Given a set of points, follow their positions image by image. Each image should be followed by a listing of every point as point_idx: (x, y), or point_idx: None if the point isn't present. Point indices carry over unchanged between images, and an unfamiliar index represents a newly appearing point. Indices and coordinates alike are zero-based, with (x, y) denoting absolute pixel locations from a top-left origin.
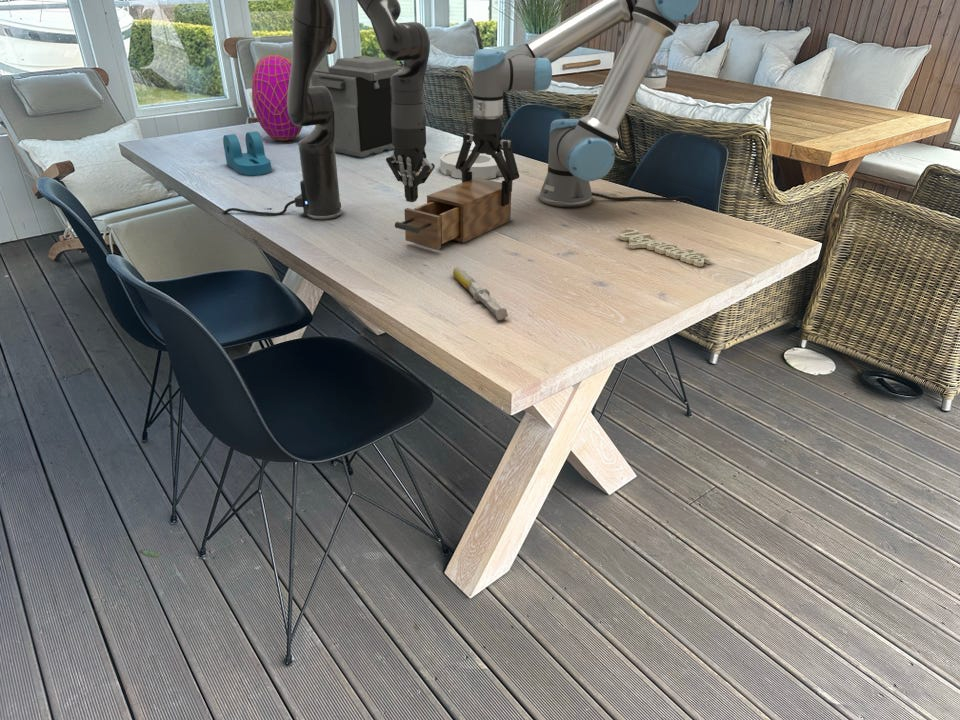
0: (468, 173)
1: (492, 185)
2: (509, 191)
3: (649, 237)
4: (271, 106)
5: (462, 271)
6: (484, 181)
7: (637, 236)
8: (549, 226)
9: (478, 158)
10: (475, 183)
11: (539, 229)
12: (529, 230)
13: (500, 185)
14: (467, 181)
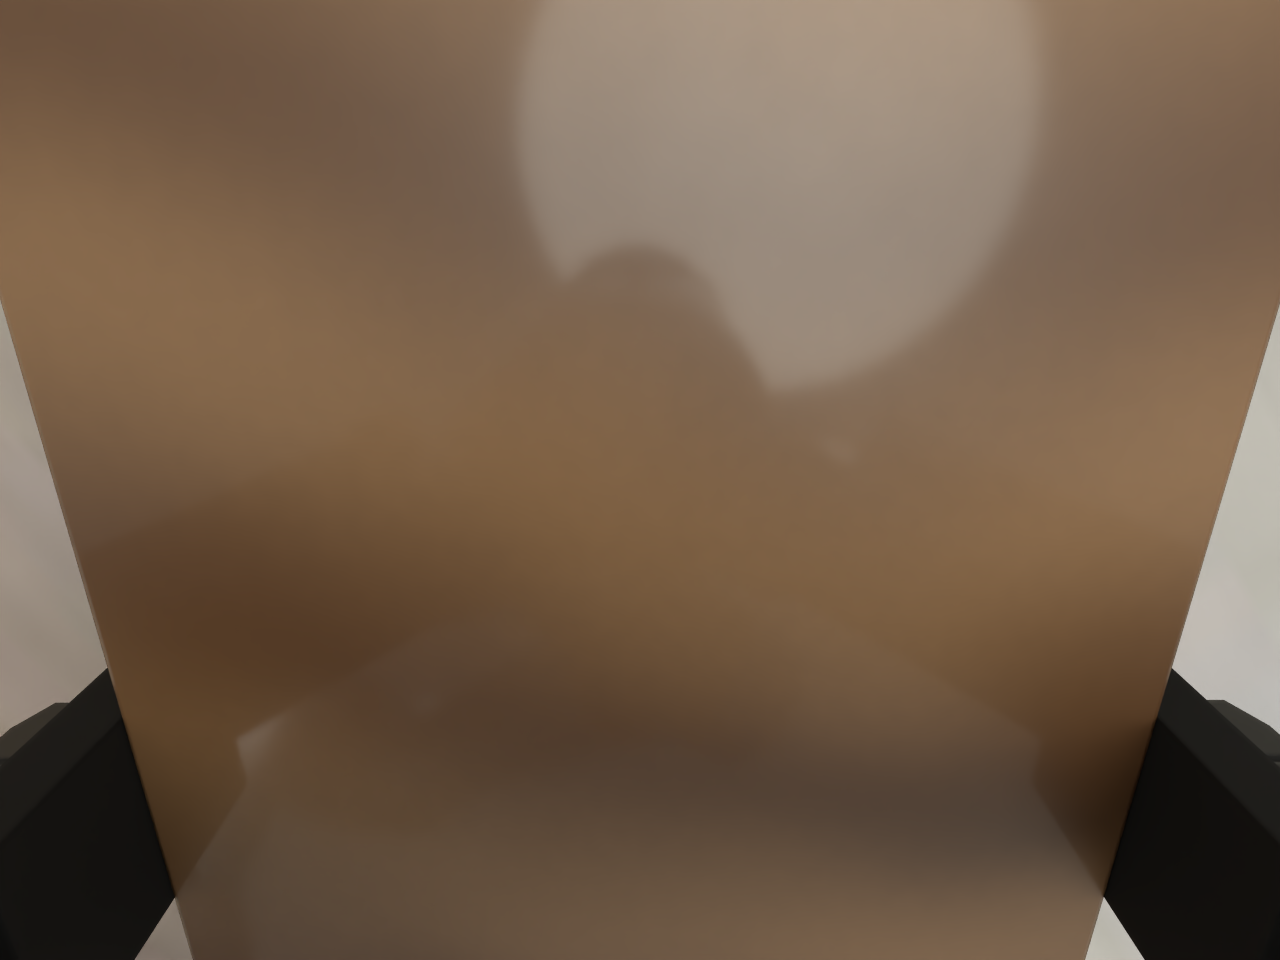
0: (1256, 941)
1: (451, 790)
2: (8, 746)
3: None
4: None
5: None
6: (777, 907)
7: None
8: (13, 705)
9: None
10: (866, 701)
11: (9, 583)
12: (54, 499)
13: (322, 875)
14: (1118, 716)
